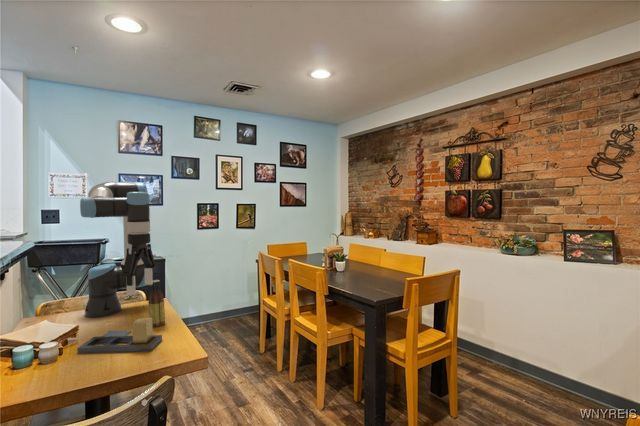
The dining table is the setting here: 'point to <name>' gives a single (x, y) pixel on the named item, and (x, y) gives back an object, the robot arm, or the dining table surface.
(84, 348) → the grey slotted tray
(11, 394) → the dining table surface
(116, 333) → the tile
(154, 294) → the sauce bottle
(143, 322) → the tan block
